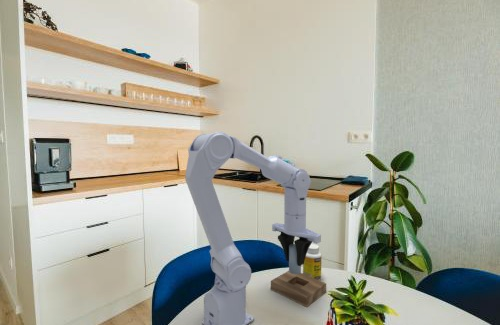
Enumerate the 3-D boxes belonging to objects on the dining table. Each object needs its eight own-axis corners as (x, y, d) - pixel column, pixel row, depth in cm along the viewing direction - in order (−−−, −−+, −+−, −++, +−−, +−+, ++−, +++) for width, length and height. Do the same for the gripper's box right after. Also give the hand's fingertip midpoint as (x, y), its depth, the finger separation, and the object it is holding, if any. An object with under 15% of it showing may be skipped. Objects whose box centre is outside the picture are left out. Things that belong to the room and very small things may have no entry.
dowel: (296, 275, 68) (296, 249, 67) (286, 271, 70) (286, 246, 69) (303, 271, 70) (303, 246, 69) (293, 267, 72) (293, 243, 72)
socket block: (306, 307, 65) (306, 297, 65) (270, 289, 74) (270, 280, 74) (326, 291, 72) (326, 283, 72) (291, 276, 81) (291, 269, 81)
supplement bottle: (314, 284, 76) (315, 251, 76) (299, 277, 80) (299, 245, 80) (324, 278, 80) (325, 246, 79) (309, 272, 84) (309, 241, 83)
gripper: (327, 215, 67) (326, 266, 67) (282, 206, 77) (282, 250, 78) (312, 220, 62) (312, 275, 62) (267, 210, 72) (267, 257, 73)
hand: (294, 262), depth 70 cm, fingers closed on dowel, 3 cm apart
